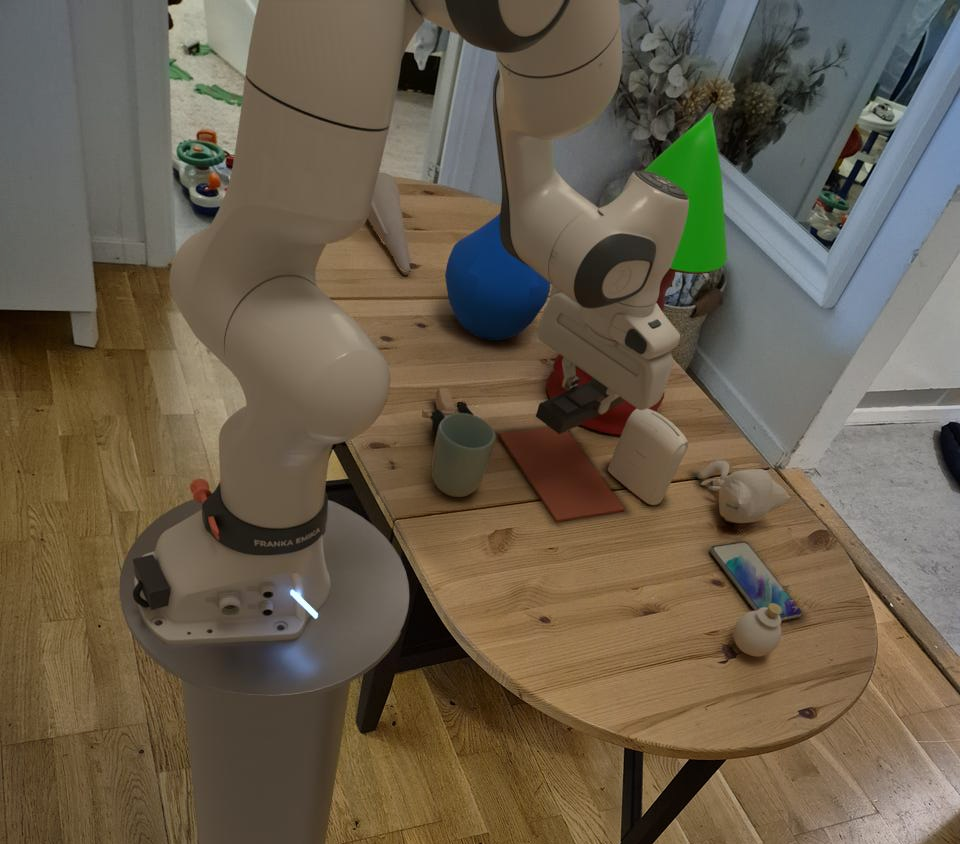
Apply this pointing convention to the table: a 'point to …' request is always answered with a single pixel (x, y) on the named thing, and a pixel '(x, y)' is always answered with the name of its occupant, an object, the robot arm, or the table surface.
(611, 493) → the mat
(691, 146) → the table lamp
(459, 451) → the cup
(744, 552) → the smartphone
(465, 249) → the vase
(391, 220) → the grey long tapered piece
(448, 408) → the toy figure
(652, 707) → the table surface
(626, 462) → the photo printer
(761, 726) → the table surface
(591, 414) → the remote
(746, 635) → the ornament
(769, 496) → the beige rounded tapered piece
